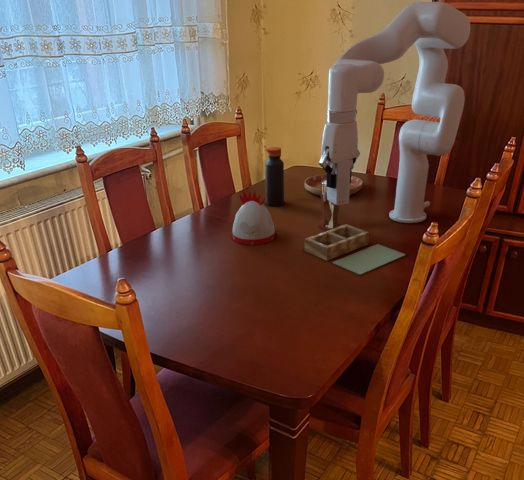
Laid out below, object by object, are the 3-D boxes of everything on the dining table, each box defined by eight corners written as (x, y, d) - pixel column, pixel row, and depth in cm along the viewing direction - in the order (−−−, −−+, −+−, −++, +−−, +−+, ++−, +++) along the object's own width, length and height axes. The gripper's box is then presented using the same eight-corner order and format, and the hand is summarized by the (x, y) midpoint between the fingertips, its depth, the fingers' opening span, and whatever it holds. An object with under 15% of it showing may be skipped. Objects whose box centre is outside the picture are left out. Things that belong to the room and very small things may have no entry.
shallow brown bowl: (300, 183, 224) (300, 174, 222) (354, 180, 226) (354, 171, 224) (310, 201, 205) (310, 191, 203) (369, 197, 207) (369, 188, 205)
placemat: (377, 244, 169) (377, 243, 169) (405, 255, 162) (406, 254, 162) (332, 263, 159) (332, 262, 159) (360, 275, 152) (360, 274, 151)
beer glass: (339, 231, 179) (341, 185, 171) (318, 230, 181) (319, 185, 172) (340, 223, 185) (343, 179, 177) (320, 222, 186) (321, 178, 178)
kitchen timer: (238, 227, 185) (236, 183, 176) (278, 229, 182) (277, 184, 174) (228, 243, 173) (225, 197, 165) (270, 245, 171) (269, 198, 162)
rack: (345, 235, 176) (346, 224, 174) (368, 244, 170) (369, 232, 167) (304, 251, 167) (304, 238, 164) (326, 260, 160) (327, 248, 158)
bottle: (287, 202, 205) (287, 147, 194) (278, 207, 200) (277, 151, 189) (271, 199, 208) (271, 145, 197) (262, 204, 203) (261, 149, 192)
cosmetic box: (349, 203, 155) (352, 160, 148) (335, 206, 153) (338, 162, 147) (338, 197, 160) (341, 155, 153) (325, 199, 158) (327, 157, 151)
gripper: (353, 110, 150) (350, 176, 160) (308, 120, 142) (307, 189, 152) (374, 113, 145) (369, 181, 155) (328, 124, 137) (326, 195, 147)
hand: (338, 184), depth 154 cm, fingers closed on cosmetic box, 5 cm apart
